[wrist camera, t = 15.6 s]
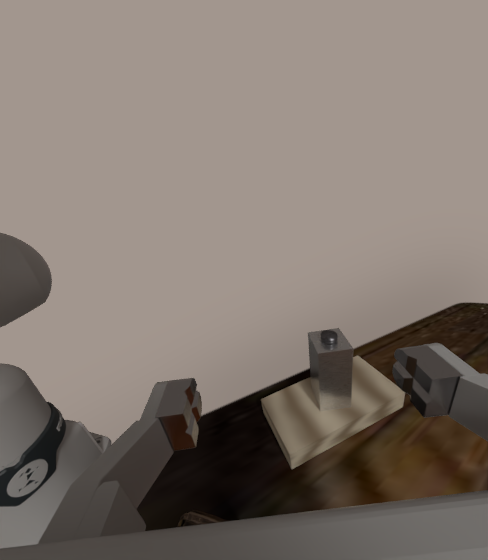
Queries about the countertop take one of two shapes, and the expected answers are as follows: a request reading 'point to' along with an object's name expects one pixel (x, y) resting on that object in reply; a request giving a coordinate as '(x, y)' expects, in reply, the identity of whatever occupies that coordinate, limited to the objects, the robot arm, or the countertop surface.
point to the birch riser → (328, 413)
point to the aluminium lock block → (331, 369)
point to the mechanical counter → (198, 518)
